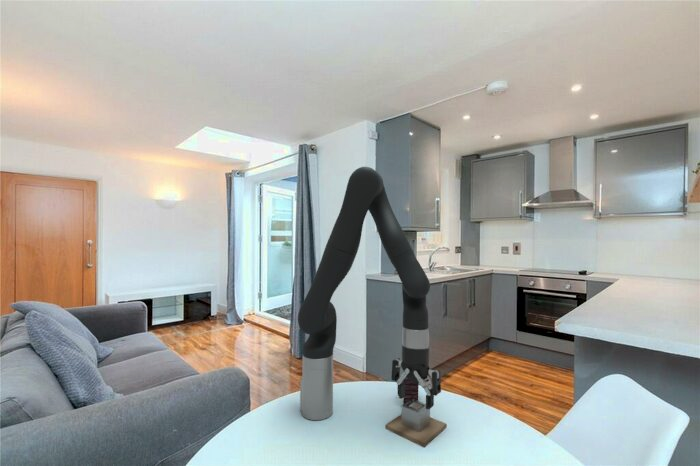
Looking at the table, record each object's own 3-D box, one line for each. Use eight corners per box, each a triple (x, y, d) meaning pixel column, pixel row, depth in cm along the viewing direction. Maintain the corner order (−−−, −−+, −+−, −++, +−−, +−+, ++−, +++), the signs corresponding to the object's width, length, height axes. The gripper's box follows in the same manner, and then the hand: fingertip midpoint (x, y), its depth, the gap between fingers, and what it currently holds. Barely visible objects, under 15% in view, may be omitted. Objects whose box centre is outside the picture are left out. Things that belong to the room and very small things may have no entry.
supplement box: (419, 409, 97) (418, 356, 98) (403, 407, 98) (402, 355, 99) (418, 396, 106) (418, 348, 106) (404, 395, 107) (403, 347, 107)
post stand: (385, 428, 87) (385, 406, 87) (409, 412, 96) (409, 391, 96) (424, 447, 79) (424, 422, 79) (446, 427, 87) (446, 405, 88)
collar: (401, 424, 87) (401, 405, 87) (412, 416, 91) (412, 398, 91) (419, 432, 83) (419, 413, 83) (430, 423, 87) (429, 405, 88)
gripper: (386, 341, 90) (386, 399, 90) (432, 352, 81) (432, 417, 80) (401, 335, 96) (400, 390, 95) (445, 346, 86) (445, 406, 86)
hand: (415, 402), depth 88 cm, fingers open, 8 cm apart
